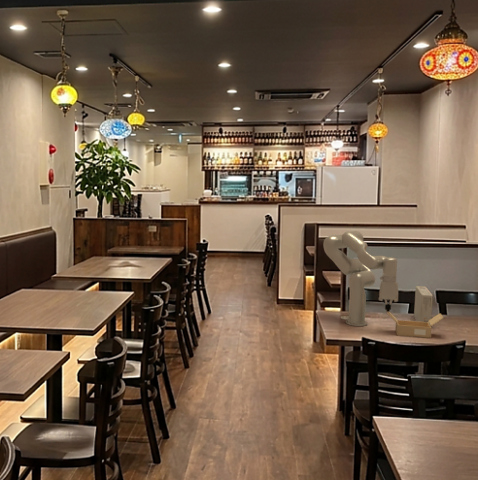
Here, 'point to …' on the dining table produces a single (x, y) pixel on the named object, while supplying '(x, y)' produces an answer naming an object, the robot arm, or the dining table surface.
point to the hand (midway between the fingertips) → (387, 311)
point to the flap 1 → (392, 317)
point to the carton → (413, 329)
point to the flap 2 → (435, 319)
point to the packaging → (423, 304)
